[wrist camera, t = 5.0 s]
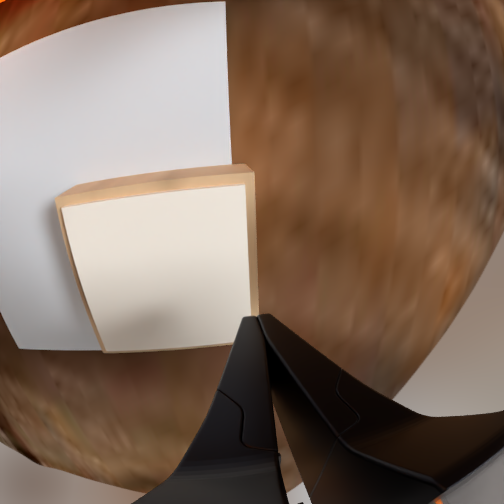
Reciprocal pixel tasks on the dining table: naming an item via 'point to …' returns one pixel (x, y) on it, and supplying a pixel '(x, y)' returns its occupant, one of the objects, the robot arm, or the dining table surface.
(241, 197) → the tile
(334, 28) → the dining table surface
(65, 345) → the mat
